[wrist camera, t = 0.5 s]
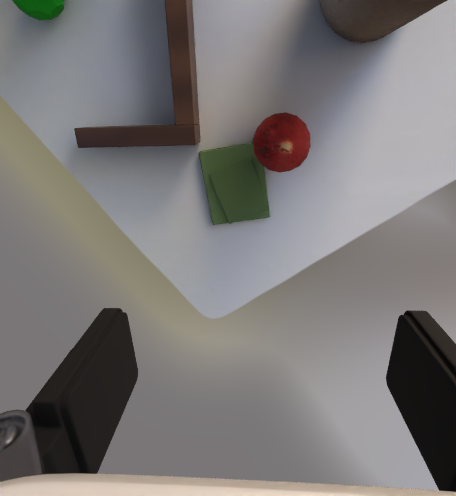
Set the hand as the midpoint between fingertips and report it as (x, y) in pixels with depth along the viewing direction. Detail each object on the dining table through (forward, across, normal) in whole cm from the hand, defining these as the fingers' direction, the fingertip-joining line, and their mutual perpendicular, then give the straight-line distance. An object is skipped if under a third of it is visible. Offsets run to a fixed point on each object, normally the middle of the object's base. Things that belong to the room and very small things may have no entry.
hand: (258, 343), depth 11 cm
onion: (+30, -3, -4) cm, 30 cm away
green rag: (+30, +2, +1) cm, 30 cm away
